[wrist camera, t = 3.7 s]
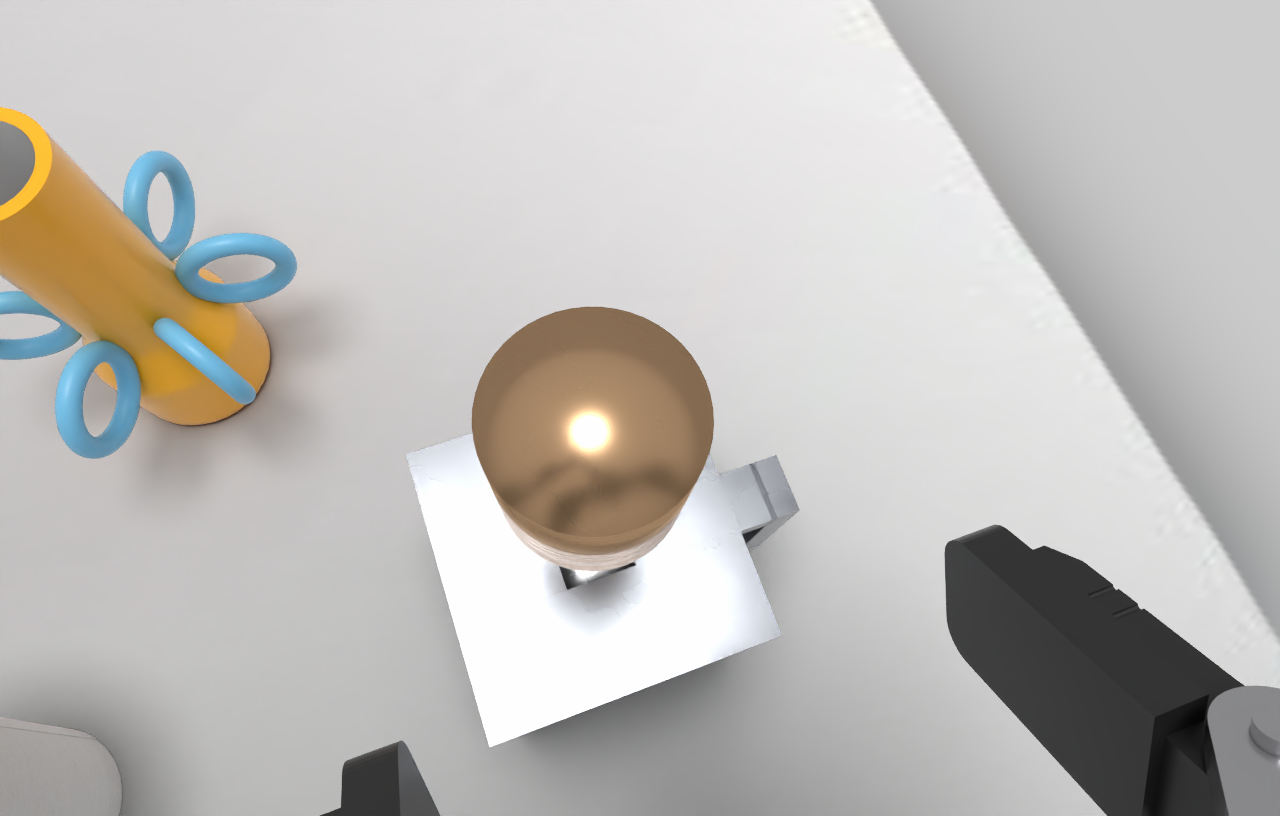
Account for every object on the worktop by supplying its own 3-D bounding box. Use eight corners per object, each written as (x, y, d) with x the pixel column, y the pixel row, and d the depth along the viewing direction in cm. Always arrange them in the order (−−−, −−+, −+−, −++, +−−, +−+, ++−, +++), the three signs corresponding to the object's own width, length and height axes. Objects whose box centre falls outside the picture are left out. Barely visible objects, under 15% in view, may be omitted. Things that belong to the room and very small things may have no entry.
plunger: (521, 698, 27) (445, 702, 12) (459, 495, 29) (332, 294, 14) (723, 622, 28) (870, 546, 14) (651, 432, 30) (712, 187, 16)
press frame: (518, 731, 34) (489, 747, 24) (455, 520, 36) (405, 454, 26) (780, 631, 36) (857, 606, 26) (704, 437, 38) (745, 346, 28)
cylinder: (388, 358, 38) (272, 163, 24) (215, 538, 35) (-32, 434, 21) (196, 209, 40) (-15, -55, 26) (16, 367, 37) (-332, 167, 23)
